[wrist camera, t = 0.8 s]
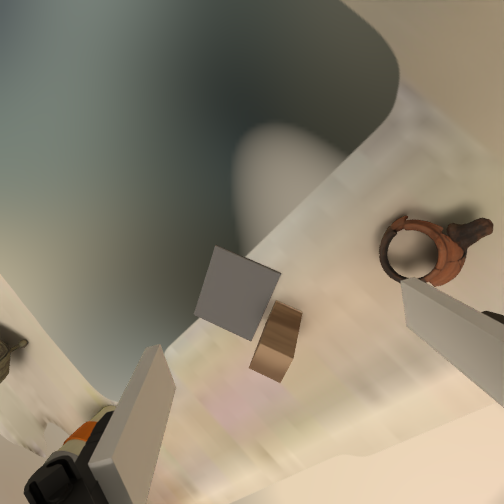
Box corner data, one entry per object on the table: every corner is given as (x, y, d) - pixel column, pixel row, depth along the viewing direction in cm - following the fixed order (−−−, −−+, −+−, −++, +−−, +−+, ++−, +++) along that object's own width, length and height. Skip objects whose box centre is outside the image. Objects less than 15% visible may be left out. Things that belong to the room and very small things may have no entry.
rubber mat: (216, 244, 47) (215, 245, 47) (281, 273, 46) (280, 274, 45) (194, 313, 53) (193, 314, 52) (251, 340, 52) (251, 341, 51)
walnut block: (276, 300, 48) (260, 343, 38) (302, 312, 47) (293, 358, 37) (266, 321, 50) (248, 367, 40) (291, 333, 49) (280, 383, 39)
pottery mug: (420, 292, 42) (400, 307, 36) (381, 236, 45) (356, 241, 39) (518, 246, 34) (512, 255, 28) (463, 181, 37) (448, 178, 31)
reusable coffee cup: (119, 393, 66) (63, 460, 53) (151, 435, 68) (106, 509, 55) (85, 406, 71) (25, 469, 58) (116, 444, 73) (66, 514, 60)
